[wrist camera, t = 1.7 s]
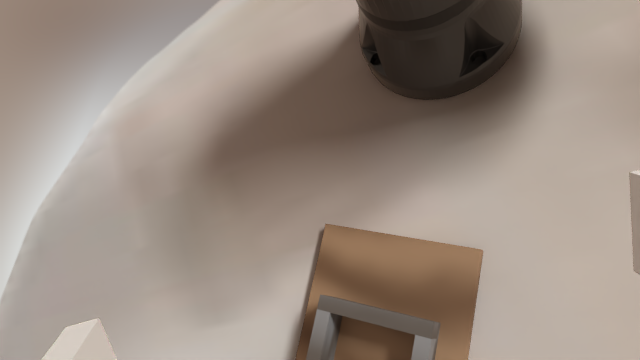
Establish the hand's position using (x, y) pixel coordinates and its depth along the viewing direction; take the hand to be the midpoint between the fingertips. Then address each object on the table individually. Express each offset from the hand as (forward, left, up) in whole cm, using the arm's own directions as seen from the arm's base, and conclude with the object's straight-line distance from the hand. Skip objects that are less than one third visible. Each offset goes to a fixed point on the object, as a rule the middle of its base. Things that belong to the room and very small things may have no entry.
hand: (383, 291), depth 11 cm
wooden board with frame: (+6, -7, -28) cm, 30 cm away
